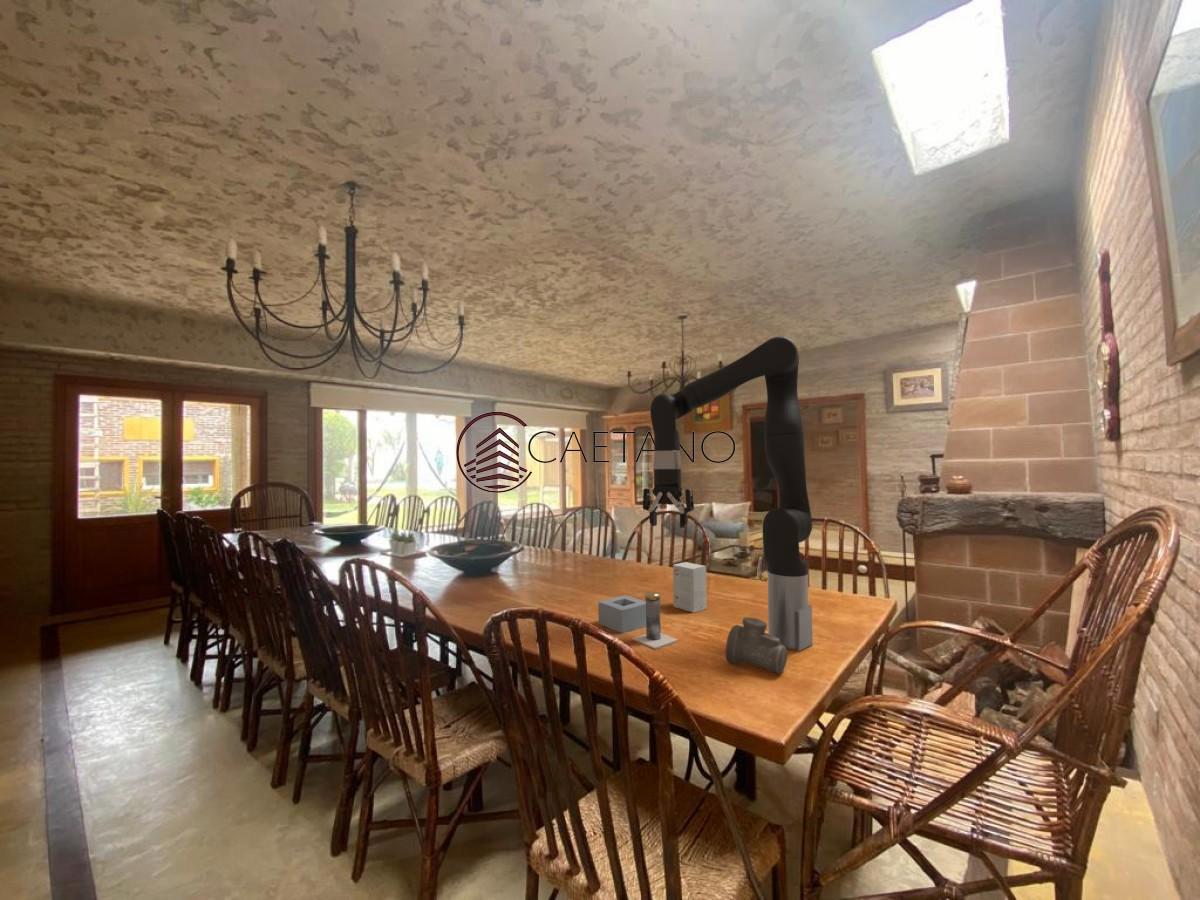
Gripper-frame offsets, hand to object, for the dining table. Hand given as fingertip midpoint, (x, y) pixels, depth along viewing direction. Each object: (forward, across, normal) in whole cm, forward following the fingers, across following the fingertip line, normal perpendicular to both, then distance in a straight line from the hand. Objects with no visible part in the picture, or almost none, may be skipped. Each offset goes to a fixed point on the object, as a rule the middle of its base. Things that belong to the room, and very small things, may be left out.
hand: (668, 526), depth 133 cm
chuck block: (+27, +11, +6) cm, 30 cm away
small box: (+27, +1, -17) cm, 32 cm away
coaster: (+27, -2, +12) cm, 30 cm away
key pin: (+26, -1, +12) cm, 29 cm away
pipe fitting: (+27, -27, +15) cm, 41 cm away
